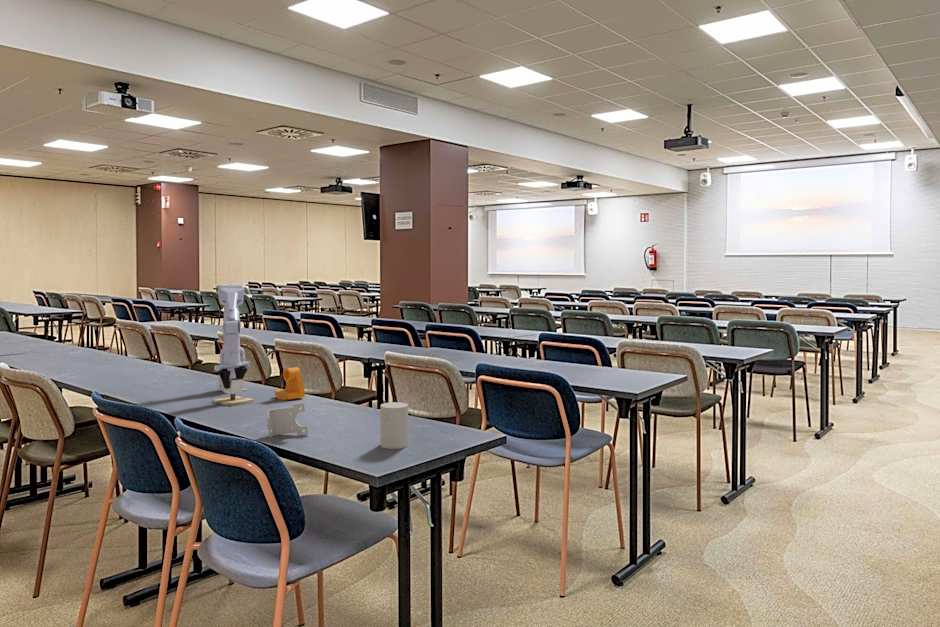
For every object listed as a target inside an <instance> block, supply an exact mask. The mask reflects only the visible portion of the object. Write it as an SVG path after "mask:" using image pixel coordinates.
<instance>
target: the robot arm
mask: <svg viewBox="0 0 940 627" xmlns="http://www.w3.org/2000/svg"><path fill="white" fill-rule="evenodd" d="M217 289H218V300H219V305H221V306H224V308H225V309H224V310H223V323H222V336H223V348H221V349H220V352H219V364H216V365H214V367H213V368H214V369H213V370H214V371H215V372H217V374H218V388H217V389H216V390H217V391H220V392H224V389H223V386H224V388H225V389H229V378H239V379H243V380H244V377H245V375H246V373H247V372H248V367H251V365H250V364H251V362H250V361H249V360H246V354H245V349H244V348H243V347H242V346H241V335H242V334H241V333H242V327H241V326H242V324H241V318H240V310H239V306H240V305H243V304H244V301H245V300H244V299H245V286H244V284H243V283H241V284H222V283H221V284H219V285H218V288H217ZM247 390H248V389H247V388H244V387H243V392H244V391H247Z"/></svg>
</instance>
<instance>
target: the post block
mask: <svg viewBox="0 0 940 627" xmlns="http://www.w3.org/2000/svg"><path fill="white" fill-rule="evenodd" d="M254 402H255V399H254V398H249V397H244V396H239V395H236V393H235V394H230V395H229V396H224V397H218V398H214V399H213V398H212V399H211V403H213V404H214V403H215V404H220V405H225V406H230V407H235V406H238V405H239V406H240V405H244V404H249V403H254Z"/></svg>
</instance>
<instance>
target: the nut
mask: <svg viewBox="0 0 940 627" xmlns="http://www.w3.org/2000/svg"><path fill="white" fill-rule="evenodd" d="M243 382H244V378H243V379H239V378H229V389H225V388H224V386H223V389H224V391H223V393H225V394H235V395H236V394H240V393H243V392H244V391H243V388H244V386H243V385H244V384H243Z"/></svg>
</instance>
